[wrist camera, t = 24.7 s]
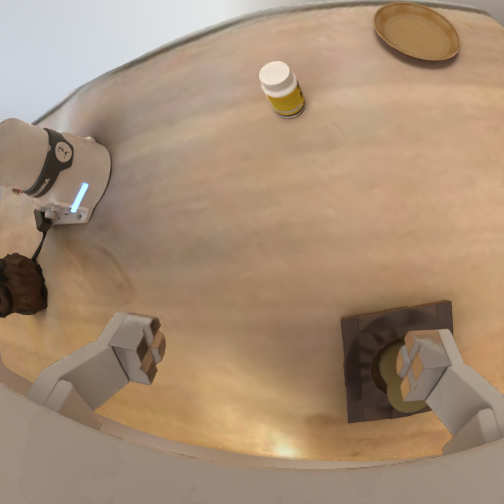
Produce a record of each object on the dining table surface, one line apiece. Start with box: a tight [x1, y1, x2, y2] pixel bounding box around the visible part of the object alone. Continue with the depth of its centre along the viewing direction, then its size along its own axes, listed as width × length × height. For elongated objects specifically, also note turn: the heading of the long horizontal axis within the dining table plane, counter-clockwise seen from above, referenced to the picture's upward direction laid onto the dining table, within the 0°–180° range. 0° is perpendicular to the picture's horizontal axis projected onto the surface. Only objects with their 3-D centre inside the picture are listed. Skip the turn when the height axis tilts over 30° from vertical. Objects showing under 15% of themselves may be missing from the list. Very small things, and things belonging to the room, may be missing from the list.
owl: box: [0, 253, 48, 318], centre depth 48 cm, size 13×13×20 cm
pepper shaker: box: [377, 339, 428, 413], centre depth 27 cm, size 6×6×11 cm
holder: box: [341, 300, 453, 423], centre depth 32 cm, size 14×14×2 cm
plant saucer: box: [373, 2, 461, 61], centre depth 32 cm, size 15×15×3 cm
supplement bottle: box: [259, 61, 305, 118], centre depth 36 cm, size 5×5×8 cm
